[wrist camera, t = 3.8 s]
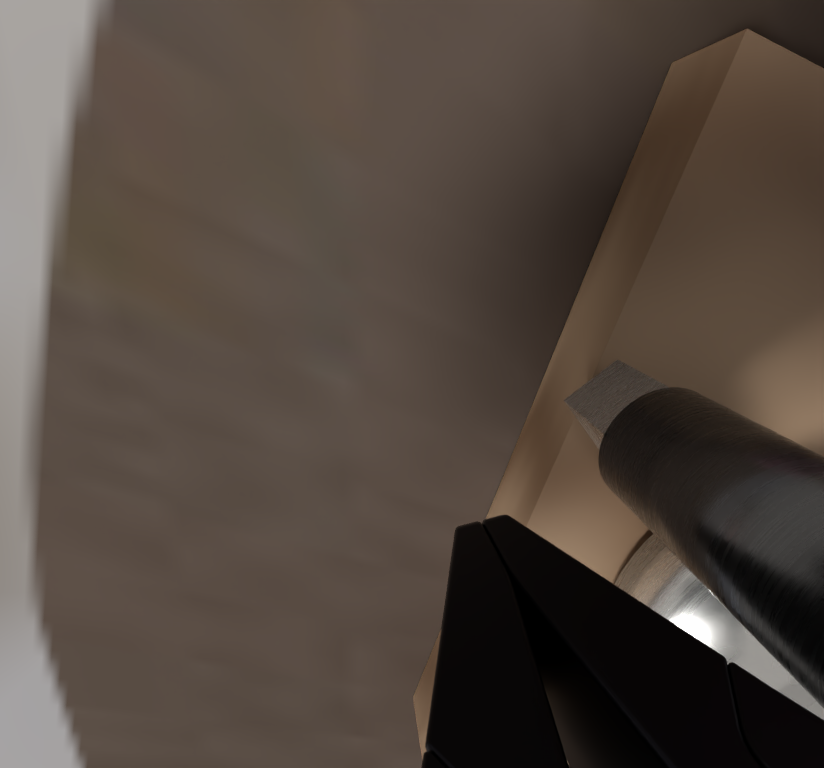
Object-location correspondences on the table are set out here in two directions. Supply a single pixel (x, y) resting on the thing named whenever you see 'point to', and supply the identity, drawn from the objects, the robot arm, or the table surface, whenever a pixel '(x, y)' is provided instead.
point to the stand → (688, 290)
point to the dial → (717, 524)
